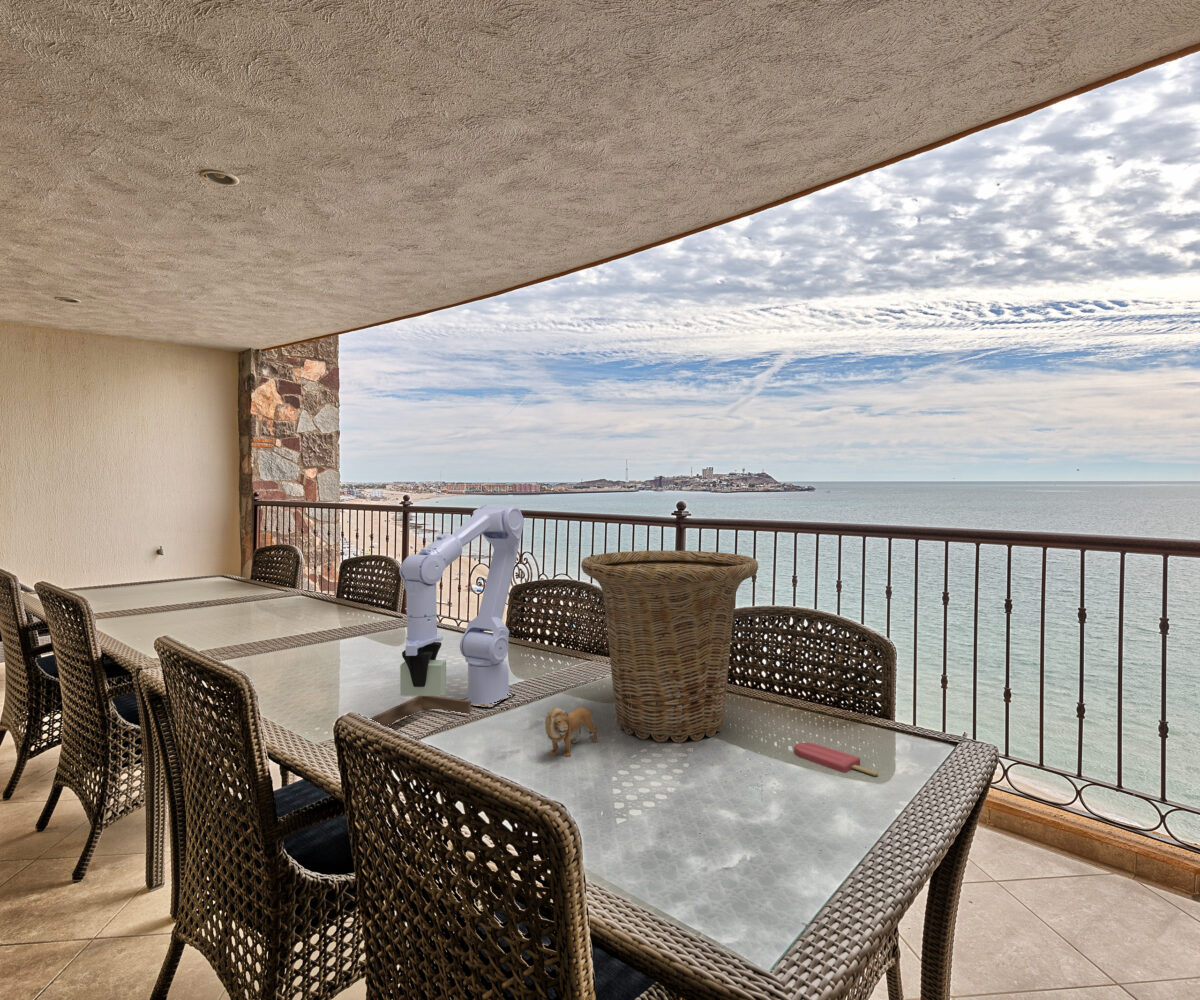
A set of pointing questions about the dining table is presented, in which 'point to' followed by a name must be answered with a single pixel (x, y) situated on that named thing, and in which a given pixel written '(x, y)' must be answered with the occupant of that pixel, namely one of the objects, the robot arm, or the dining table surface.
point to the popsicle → (830, 758)
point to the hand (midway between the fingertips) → (422, 683)
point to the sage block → (433, 681)
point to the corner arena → (421, 708)
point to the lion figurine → (568, 727)
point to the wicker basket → (669, 637)
